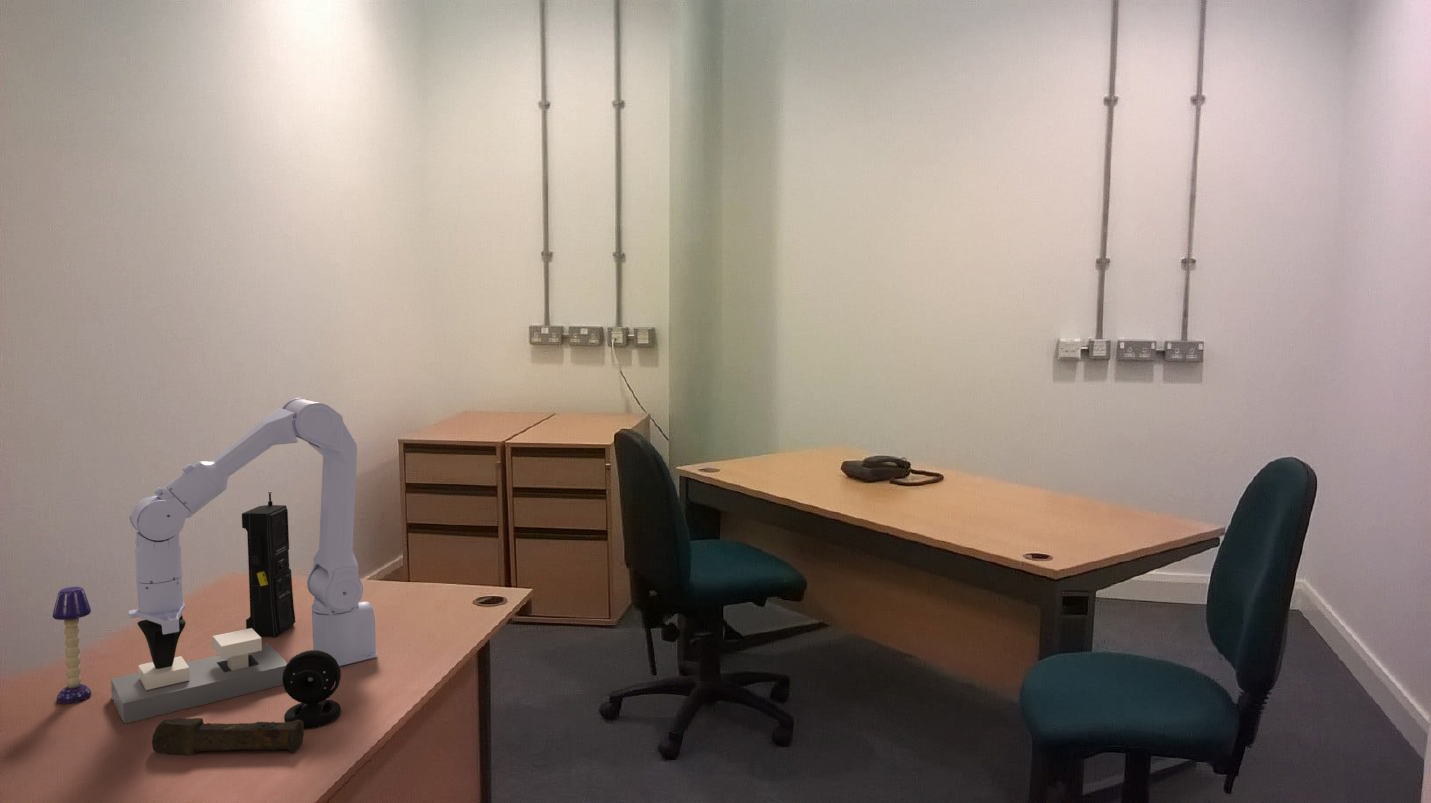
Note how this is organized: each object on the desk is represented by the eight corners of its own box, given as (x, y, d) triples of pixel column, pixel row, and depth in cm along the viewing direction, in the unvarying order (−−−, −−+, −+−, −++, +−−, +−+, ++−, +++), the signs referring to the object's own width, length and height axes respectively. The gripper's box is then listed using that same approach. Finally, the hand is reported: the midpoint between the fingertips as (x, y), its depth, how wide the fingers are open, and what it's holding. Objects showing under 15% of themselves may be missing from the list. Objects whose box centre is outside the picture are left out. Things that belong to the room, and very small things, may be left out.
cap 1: (182, 685, 139) (181, 655, 138) (190, 698, 134) (189, 667, 134) (139, 695, 135) (138, 664, 134) (146, 708, 131) (145, 676, 130)
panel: (269, 661, 149) (269, 644, 149) (289, 683, 141) (289, 664, 141) (111, 697, 135) (110, 678, 135) (124, 723, 127) (122, 703, 126)
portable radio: (276, 640, 159) (271, 501, 156) (242, 639, 159) (237, 500, 156) (297, 624, 167) (293, 492, 164) (265, 623, 167) (260, 491, 164)
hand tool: (307, 742, 123) (306, 710, 122) (295, 757, 119) (294, 723, 118) (165, 744, 122) (163, 711, 121) (147, 758, 118) (146, 724, 117)
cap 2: (252, 656, 145) (251, 627, 144) (262, 667, 141) (261, 637, 140) (213, 665, 141) (212, 635, 141) (222, 676, 137) (221, 646, 137)
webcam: (276, 731, 125) (274, 662, 124) (291, 708, 132) (288, 642, 131) (336, 727, 127) (334, 659, 126) (346, 704, 134) (345, 640, 133)
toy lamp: (63, 692, 136) (56, 585, 134) (99, 688, 138) (93, 582, 136) (52, 705, 132) (45, 595, 130) (90, 701, 133) (83, 592, 132)
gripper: (119, 571, 136) (123, 658, 137) (136, 595, 125) (140, 689, 126) (173, 563, 140) (176, 647, 142) (193, 586, 129) (197, 676, 131)
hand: (163, 666), depth 134 cm, fingers closed, pressing on cap 1
